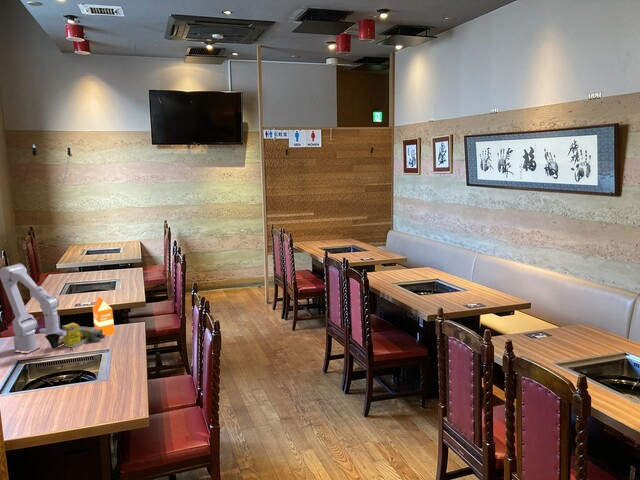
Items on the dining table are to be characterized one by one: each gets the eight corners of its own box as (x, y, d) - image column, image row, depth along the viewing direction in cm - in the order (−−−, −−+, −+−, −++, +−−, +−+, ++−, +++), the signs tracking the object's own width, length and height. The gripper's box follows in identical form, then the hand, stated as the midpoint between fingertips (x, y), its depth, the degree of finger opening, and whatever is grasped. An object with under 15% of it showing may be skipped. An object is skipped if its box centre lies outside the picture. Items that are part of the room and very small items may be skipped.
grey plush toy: (50, 347, 253) (49, 336, 252) (75, 335, 269) (74, 324, 268) (84, 351, 247) (83, 340, 246) (108, 338, 263) (106, 328, 262)
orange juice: (109, 329, 277) (106, 295, 273) (114, 333, 270) (111, 298, 266) (94, 333, 272) (91, 298, 268) (100, 337, 265) (96, 301, 262)
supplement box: (70, 348, 252) (67, 328, 250) (64, 345, 255) (61, 325, 253) (81, 344, 256) (79, 324, 254) (75, 342, 260) (73, 322, 258)
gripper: (33, 323, 240) (36, 349, 243) (57, 326, 236) (60, 352, 239) (44, 318, 247) (48, 344, 250) (68, 321, 243) (71, 347, 246)
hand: (54, 347), depth 245 cm, fingers closed
